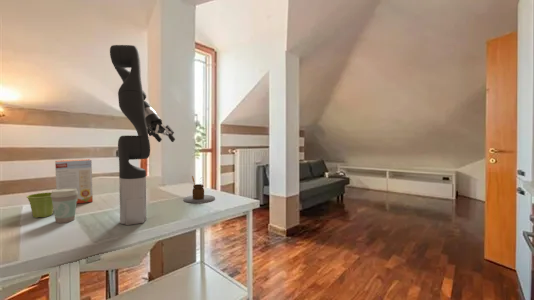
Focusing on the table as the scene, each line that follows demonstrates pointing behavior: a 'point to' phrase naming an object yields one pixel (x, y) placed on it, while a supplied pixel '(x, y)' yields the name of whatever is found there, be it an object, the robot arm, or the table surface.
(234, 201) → the table surface
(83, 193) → the cracker box
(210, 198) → the charcoal mat
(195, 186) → the utensil holder
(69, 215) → the coffee cup
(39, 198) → the plant pot
